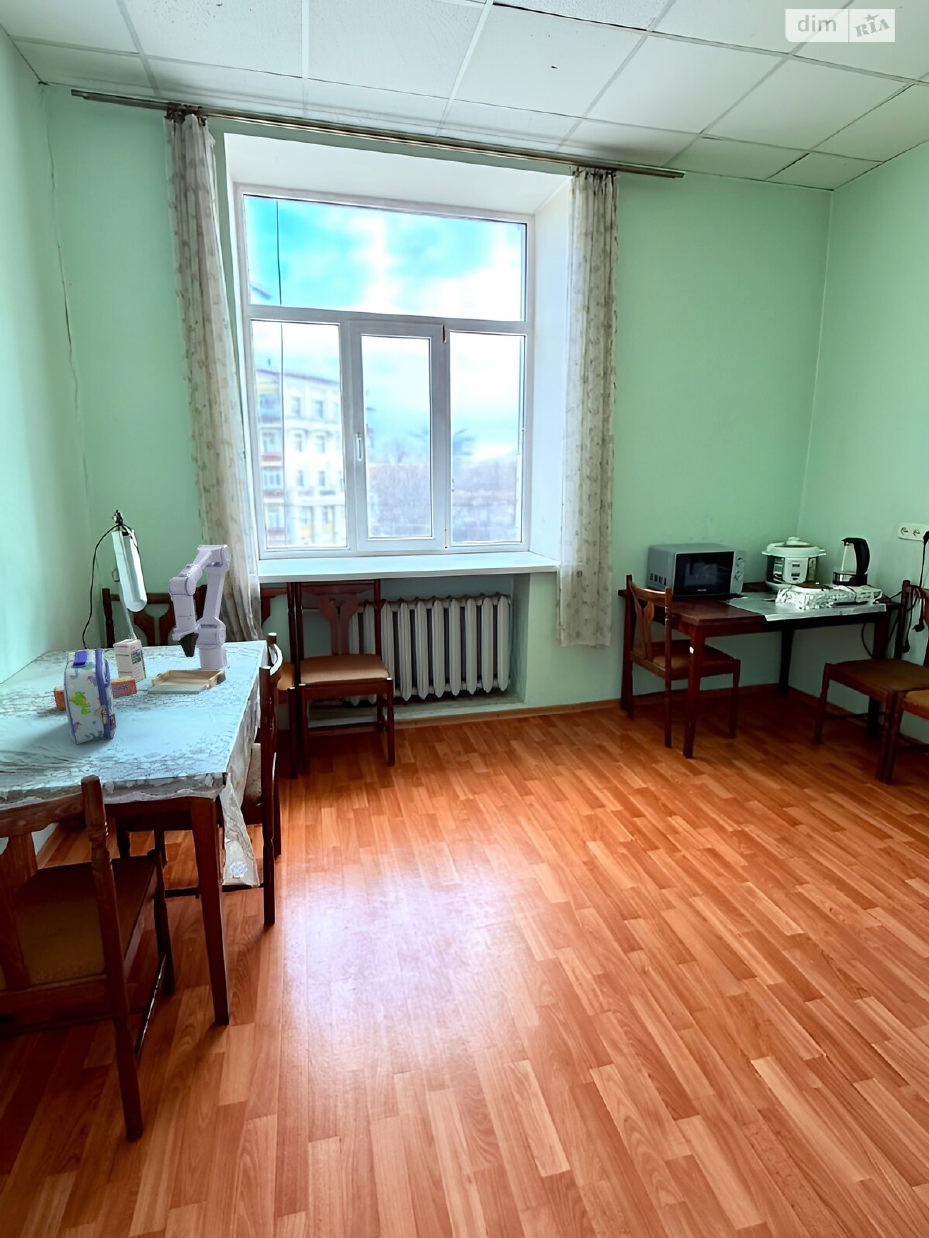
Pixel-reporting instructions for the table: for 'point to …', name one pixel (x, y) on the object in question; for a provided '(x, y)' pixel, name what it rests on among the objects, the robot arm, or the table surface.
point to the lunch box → (89, 696)
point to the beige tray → (190, 677)
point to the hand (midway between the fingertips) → (190, 656)
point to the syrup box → (130, 659)
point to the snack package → (118, 689)
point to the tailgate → (178, 689)
